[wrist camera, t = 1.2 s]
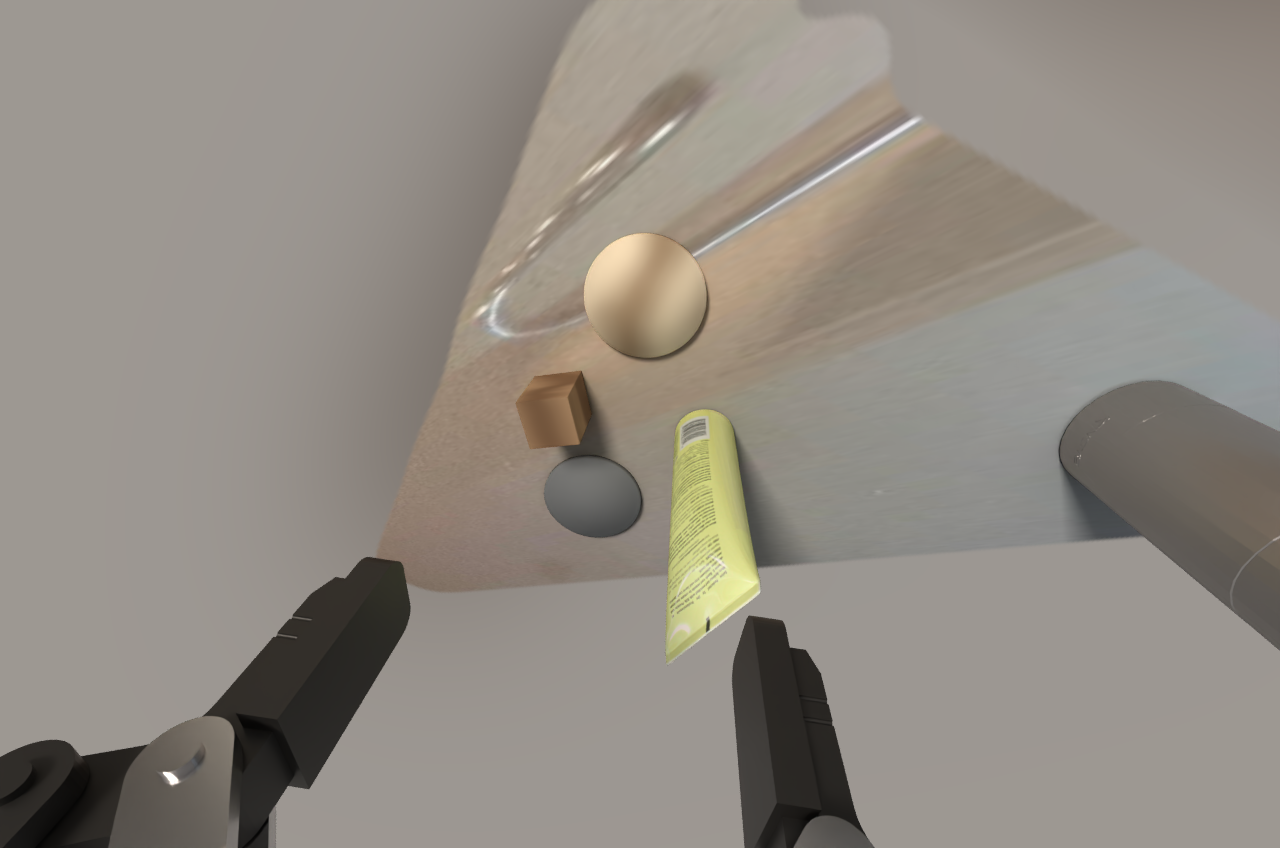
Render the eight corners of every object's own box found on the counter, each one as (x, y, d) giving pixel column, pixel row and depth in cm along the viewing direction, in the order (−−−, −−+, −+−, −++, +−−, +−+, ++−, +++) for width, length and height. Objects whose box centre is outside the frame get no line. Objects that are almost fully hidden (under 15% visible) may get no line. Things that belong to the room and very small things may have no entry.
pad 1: (645, 462, 43) (645, 466, 42) (636, 539, 47) (635, 543, 47) (545, 448, 43) (544, 452, 43) (545, 526, 48) (544, 530, 47)
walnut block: (581, 370, 39) (567, 397, 35) (591, 414, 41) (579, 444, 37) (535, 376, 40) (515, 402, 36) (547, 418, 42) (530, 449, 38)
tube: (735, 463, 42) (762, 670, 25) (677, 465, 43) (664, 669, 26) (733, 404, 40) (762, 592, 22) (671, 408, 40) (653, 592, 23)
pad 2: (716, 240, 34) (716, 242, 33) (696, 361, 38) (696, 364, 38) (588, 226, 34) (586, 226, 33) (583, 347, 38) (581, 349, 38)
